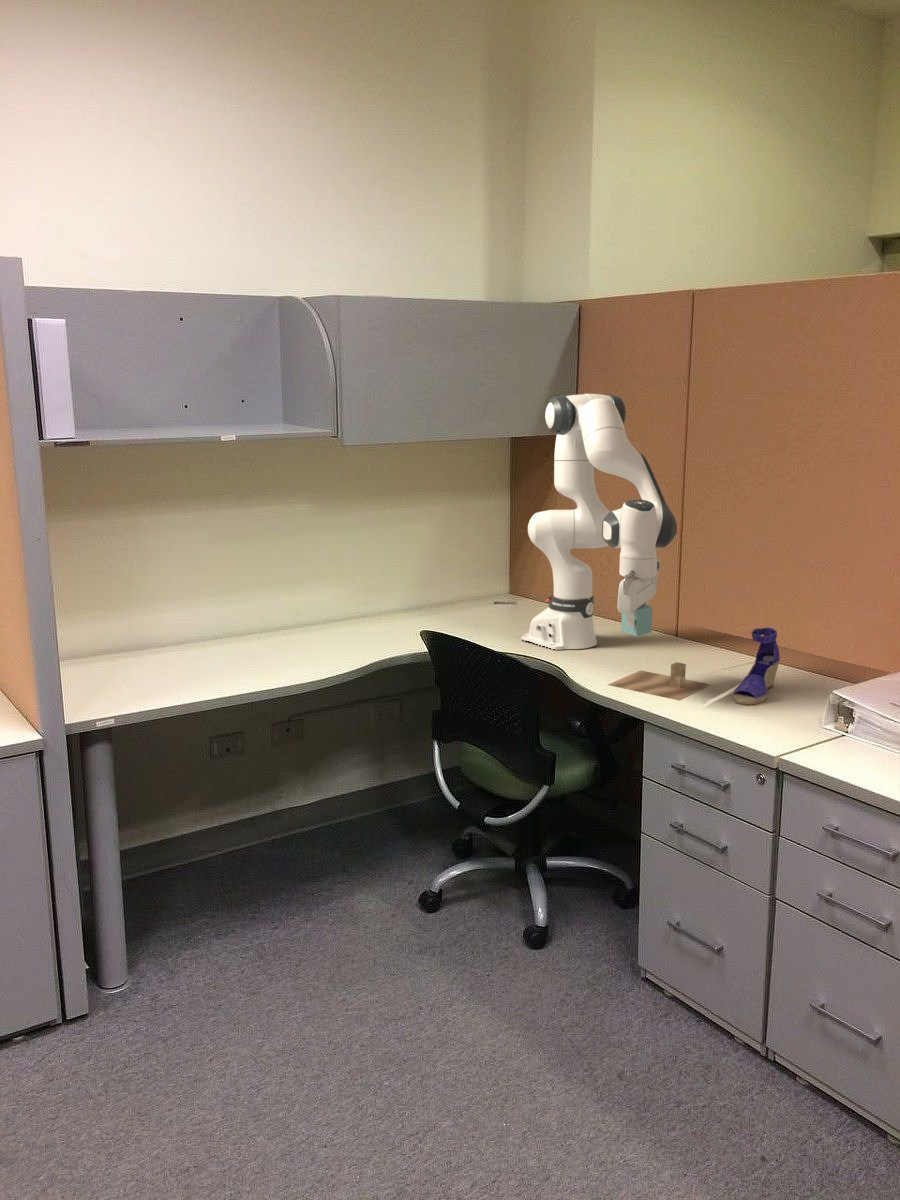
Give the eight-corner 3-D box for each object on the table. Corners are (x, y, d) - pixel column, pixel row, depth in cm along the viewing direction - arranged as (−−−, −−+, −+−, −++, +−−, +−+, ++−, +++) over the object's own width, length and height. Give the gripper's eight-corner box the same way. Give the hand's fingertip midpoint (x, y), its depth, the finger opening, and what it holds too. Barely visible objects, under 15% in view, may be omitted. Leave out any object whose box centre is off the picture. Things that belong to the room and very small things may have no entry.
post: (670, 685, 247) (671, 664, 246) (675, 683, 249) (676, 662, 247) (679, 687, 245) (680, 666, 244) (685, 685, 247) (685, 663, 246)
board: (607, 687, 249) (607, 684, 249) (640, 673, 260) (640, 670, 260) (679, 703, 236) (679, 700, 236) (711, 687, 247) (711, 684, 247)
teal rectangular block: (621, 631, 247) (621, 605, 245) (635, 628, 250) (636, 602, 248) (636, 636, 243) (637, 609, 241) (651, 632, 246) (652, 606, 244)
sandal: (720, 700, 238) (723, 639, 235) (761, 681, 252) (764, 624, 248) (752, 707, 232) (755, 645, 229) (791, 688, 246) (795, 629, 243)
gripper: (637, 577, 232) (636, 634, 236) (662, 560, 250) (660, 614, 253) (611, 574, 235) (610, 631, 239) (637, 558, 253) (636, 611, 256)
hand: (636, 622), depth 246 cm, fingers closed on teal rectangular block, 7 cm apart
